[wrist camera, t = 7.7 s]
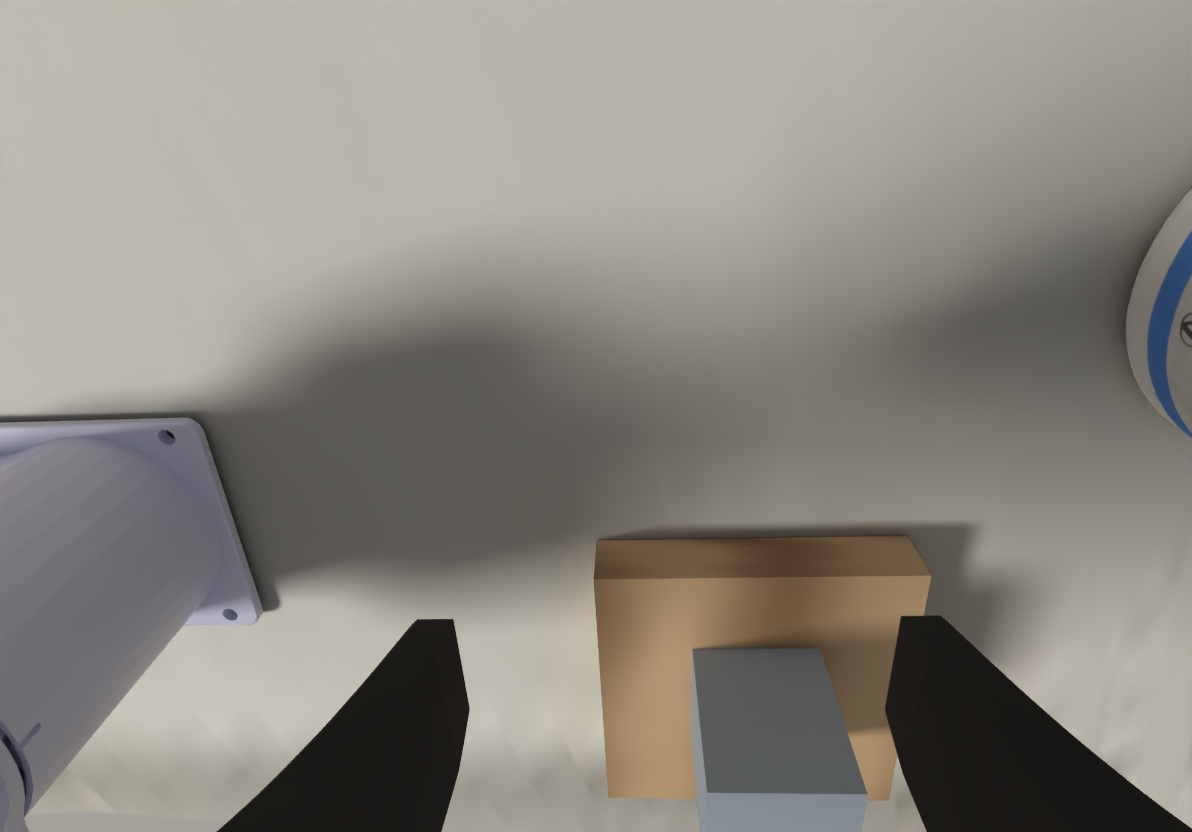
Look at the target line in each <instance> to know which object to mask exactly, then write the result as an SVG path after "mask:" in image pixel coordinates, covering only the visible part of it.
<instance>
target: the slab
mask: <svg viewBox="0 0 1192 832" xmlns="http://www.w3.org/2000/svg"><path fill="white" fill-rule="evenodd" d="M930 581H931V574H930V572H929V571H928V569H927V567H926V566H925V564H924V562H923V561H922V559H921V557H920V556H919V554H918V552H917V551H916V549H915V547H914V546H913V544H912V542H911V541H910V539H909V537H908V536H864V537H796V538H728V539H660V540H597V546H596V558H595V570H594V590H595V605H596V619H597V634H598V649H599V664H600V678H601V693H602V708H603V723H604V737H605V752H606V767H607V782H608V796H609V798H695V799H697V796H696V784H695V773H694V761H693V750H692V739H691V721H692V649H781V648H820V650H821V653H822V656H823V660H824V663H825V666H826V669H827V672H828V675H829V678H830V681H831V684H832V687H833V690H834V693H835V696H836V699H837V702H838V705H839V708H840V711H841V714H842V718H843V721H844V724H845V727H846V730H847V733H848V736H849V739H850V742H851V745H852V748H853V751H854V754H855V757H856V760H857V763H858V766H859V769H860V772H861V776H862V779H863V782H864V785H865V788H866V791H867V794H868V796H867V800H889V794H890V789H891V784H892V779H893V774H894V768H895V763H896V758H897V752H896V748H895V745H894V741H893V738H892V734H891V731H890V727H889V723H888V720H887V716H886V713H885V705H886V699H887V693H888V688H889V682H890V676H891V670H892V665H893V659H894V653H895V647H896V642H897V636H898V630H899V625H900V619H901V616H924V613H925V607H926V602H927V597H928V592H929V587H930Z"/></svg>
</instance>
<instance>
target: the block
mask: <svg viewBox="0 0 1192 832" xmlns="http://www.w3.org/2000/svg"><path fill="white" fill-rule="evenodd" d="M691 739H692V750H693V761H694V773H695V784H696V796H697V807H698V818H699V830H700V832H861V830H862V824H863V819H864V813H865V807H866V801H867V796H868V794H867V791H866V788H865V785H864V782H863V779H862V776H861V772H860V769H859V766H858V763H857V760H856V757H855V754H854V751H853V748H852V745H851V742H850V739H849V736H848V733H847V730H846V727H845V724H844V721H843V718H842V714H841V711H840V708H839V705H838V702H837V699H836V696H835V693H834V690H833V687H832V684H831V681H830V678H829V675H828V672H827V669H826V666H825V663H824V660H823V656H822V653H821V650H820V648H781V649H692V721H691Z"/></svg>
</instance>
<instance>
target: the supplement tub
mask: <svg viewBox="0 0 1192 832" xmlns="http://www.w3.org/2000/svg"><path fill="white" fill-rule="evenodd" d="M1126 343H1127V352H1128V357H1129V361H1130V365H1131V368H1132V371H1133V374H1134V376H1135V379H1136V381H1137V383H1138V385H1139V387H1140V389H1141V391H1142V392H1143V394H1144V396H1145V397H1146V399H1147V400H1148V401H1149V402H1150V403H1151V405H1152V406H1153V407H1154V408H1155V409H1156V411H1157V412H1158V413H1159V414H1160V415H1161V416H1163V417H1164V418H1165V419H1166V420H1167V421H1168V422H1170V423H1171V424H1173V425H1174V426H1176V427H1177V428H1179V429H1180V430H1182V431H1183V432H1185V433H1186V434H1188V435H1189V436H1190V437H1192V188H1191V189H1190V191H1189V192H1188V193H1187V194H1186V195H1185V196H1184V197H1183V199H1182V200H1181V201H1180V202H1179V204H1178V205H1177V206H1176V208H1175V209H1174V210H1173V212H1172V213H1171V214H1170V216H1169V217H1168V218H1167V220H1166V221H1165V223H1164V225H1163V226H1162V228H1161V229H1160V231H1159V233H1158V234H1157V236H1156V238H1155V239H1154V241H1153V243H1152V245H1151V247H1150V249H1149V251H1148V253H1147V255H1146V256H1145V258H1144V261H1143V263H1142V265H1141V267H1140V270H1139V272H1138V274H1137V277H1136V280H1135V284H1134V287H1133V290H1132V293H1131V297H1130V301H1129V305H1128V309H1127V318H1126Z"/></svg>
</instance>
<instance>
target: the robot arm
mask: <svg viewBox="0 0 1192 832" xmlns="http://www.w3.org/2000/svg"><path fill="white" fill-rule="evenodd" d="M166 430H167V431H170V432H171V433H172V434H173V435H174V437H175V439H173V438H171V437H170V436H168V434H167V433H166ZM230 609H232V610H234V611H235V612H233V611H231V610H230ZM262 613H263V609H262V605H261V602H260V599H259V596H258V593H257V590H256V587H255V584H254V581H253V578H252V575H251V572H250V569H249V566H248V563H247V560H246V557H245V554H244V551H243V548H242V545H241V542H240V539H239V535H238V532H237V529H236V526H235V523H234V520H233V517H232V514H231V511H230V508H229V505H228V502H227V499H226V496H225V493H224V490H223V487H222V484H221V481H220V478H219V475H218V472H217V469H216V466H215V463H214V460H213V457H212V454H211V451H210V448H209V445H208V442H207V439H206V436H205V433H204V430H203V429H202V427H201V426H200V425H199V424H198V423H197V422H196V421H194V420H192V419H190V418H152V419H116V420H79V421H43V422H7V423H0V832H30V831H29V829H28V827H27V826H26V824H25V820H24V817H25V816H26V815H27V814H28V813H29V811H30V810H31V809H32V808H33V807H34V805H35V804H36V803H37V802H38V801H39V799H40V798H41V797H42V796H43V794H44V793H45V792H46V791H47V790H48V788H49V787H50V786H51V785H52V784H53V782H54V781H55V780H56V779H57V778H58V776H59V775H60V774H61V773H62V771H63V770H64V769H65V768H66V767H67V765H68V764H69V763H70V762H71V761H72V759H73V758H74V757H75V756H76V755H77V753H78V752H79V751H80V750H81V749H82V747H83V746H84V745H85V744H86V742H87V741H88V740H89V739H90V738H91V736H92V735H93V734H94V733H95V732H96V730H97V729H98V728H99V727H100V726H101V724H102V723H103V722H104V721H105V719H106V718H107V717H108V716H109V715H110V713H111V712H112V711H113V710H114V709H115V707H116V706H117V705H118V704H119V703H120V701H121V700H122V699H123V698H124V696H125V695H126V694H127V693H128V692H129V690H130V689H131V688H132V687H133V686H134V684H135V683H136V682H137V681H138V680H139V678H140V677H141V676H142V675H143V673H144V672H145V671H146V670H147V669H148V667H149V666H150V665H151V664H152V663H153V661H154V660H155V659H156V658H157V657H158V655H159V654H160V653H161V652H162V650H163V649H164V648H165V647H166V646H167V644H168V643H169V642H170V641H171V640H172V638H173V637H174V636H175V635H176V634H177V632H178V631H179V630H180V629H181V628H182V626H183V625H249V624H254V623H255V622H257V621H258V619H259V618H260V616H261V615H262ZM885 713H886V716H887V720H888V723H889V727H890V731H891V734H892V738H893V741H894V745H895V748H896V752H897V755H898V758H899V762H900V765H901V768H902V772H903V775H904V777H905V780H906V782H907V785H908V787H909V790H910V792H911V795H912V797H913V799H914V802H915V804H916V807H917V809H918V812H919V814H920V816H921V819H922V821H923V824H924V826H925V828H926V831H927V832H1192V829H1191V828H1190V827H1189V826H1187V825H1186V824H1185V823H1183V822H1182V821H1180V820H1179V819H1178V818H1176V817H1175V816H1173V815H1172V814H1171V813H1169V812H1168V811H1167V810H1165V809H1164V808H1163V807H1161V806H1160V805H1159V804H1157V803H1156V802H1155V801H1153V800H1152V799H1151V798H1149V797H1148V796H1147V795H1146V794H1144V793H1143V792H1142V791H1140V790H1139V789H1138V788H1136V787H1135V786H1134V785H1133V784H1131V783H1130V782H1129V781H1128V780H1126V779H1125V778H1124V777H1123V776H1122V775H1120V774H1119V773H1118V772H1117V771H1115V770H1114V769H1113V768H1112V767H1110V766H1109V765H1108V764H1107V763H1105V762H1104V761H1103V760H1102V759H1100V758H1099V757H1098V756H1097V755H1096V754H1094V753H1093V752H1092V751H1091V750H1089V749H1088V748H1087V747H1086V746H1085V745H1083V744H1082V743H1081V742H1080V741H1079V740H1078V739H1076V738H1075V737H1074V736H1073V735H1072V734H1070V733H1069V732H1068V731H1067V730H1066V729H1065V728H1063V727H1062V726H1061V725H1060V724H1059V723H1058V722H1056V721H1055V720H1054V719H1053V718H1052V717H1051V716H1050V715H1048V714H1047V713H1046V712H1045V711H1044V710H1043V709H1042V708H1041V707H1039V706H1038V705H1037V704H1036V703H1035V702H1034V701H1033V700H1032V699H1030V698H1029V697H1028V696H1027V695H1026V694H1025V693H1024V692H1023V691H1022V690H1021V689H1019V688H1018V687H1017V686H1016V685H1015V684H1014V683H1013V682H1012V681H1011V680H1010V679H1008V678H1007V677H1006V676H1005V675H1004V674H1003V673H1002V672H1001V671H1000V670H999V669H998V668H997V667H995V666H994V665H993V664H992V663H991V662H990V661H989V660H988V659H987V658H986V657H985V656H984V655H983V654H982V653H980V652H979V651H978V650H977V649H976V648H975V647H974V646H973V645H972V644H971V643H970V642H969V641H968V640H967V639H966V638H964V637H963V636H962V635H961V634H960V633H959V632H958V631H957V630H956V629H955V628H954V627H953V626H952V625H951V624H949V623H948V622H947V621H946V620H945V619H944V618H943V617H942V616H901V619H900V625H899V630H898V636H897V642H896V647H895V653H894V659H893V665H892V670H891V676H890V682H889V688H888V693H887V699H886V705H885ZM468 715H469V703H468V698H467V692H466V687H465V681H464V676H463V670H462V665H461V659H460V654H459V648H458V643H457V637H456V632H455V626H454V621H453V619H417V620H416V621H415V622H414V623H413V624H412V625H411V626H410V628H409V629H408V630H407V631H406V632H405V634H404V635H403V636H402V637H401V638H400V640H399V641H398V642H397V643H396V644H395V646H394V647H393V648H392V649H391V650H390V652H389V653H388V654H387V655H386V657H385V658H384V659H383V660H382V661H381V663H380V664H379V665H378V666H377V667H376V668H375V670H374V671H373V672H372V673H371V674H370V676H369V677H368V678H367V679H366V680H365V681H364V683H363V684H362V685H361V686H360V687H359V688H358V690H357V691H356V692H355V693H354V694H353V695H352V696H351V697H350V699H349V700H348V701H347V702H346V703H345V704H344V705H343V707H342V708H341V709H340V710H339V711H338V712H337V713H336V714H335V716H334V717H333V718H332V719H331V720H330V721H329V722H328V723H327V724H326V726H325V727H324V728H323V729H322V730H321V731H320V732H319V733H318V734H317V735H316V736H315V737H314V738H313V739H312V740H311V741H310V742H309V743H308V745H307V746H306V747H305V748H304V749H303V750H302V751H301V752H300V753H299V754H298V755H297V756H296V757H295V758H294V759H293V760H292V761H291V762H290V763H289V764H288V765H287V766H286V767H285V768H284V769H283V770H282V771H281V772H280V773H279V774H278V775H277V776H276V777H275V778H274V779H273V780H272V781H271V782H270V783H269V784H268V785H267V786H266V787H265V788H264V789H263V790H262V791H261V792H260V793H259V794H258V795H257V796H256V797H255V798H254V799H252V800H251V801H250V802H249V803H248V804H247V805H246V806H245V807H244V808H243V809H242V810H241V811H239V812H238V813H237V814H236V815H235V816H234V817H233V818H232V819H231V820H229V821H228V822H227V823H226V824H225V825H224V826H223V827H222V828H221V829H219V830H218V831H217V832H441V831H442V827H443V824H444V820H445V817H446V814H447V810H448V807H449V803H450V800H451V796H452V793H453V790H454V786H455V782H456V779H457V775H458V772H459V767H460V761H461V756H462V751H463V745H464V739H465V733H466V727H467V721H468Z"/></svg>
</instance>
